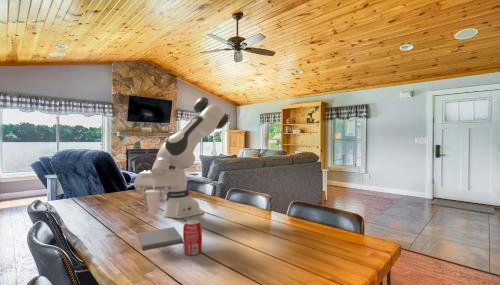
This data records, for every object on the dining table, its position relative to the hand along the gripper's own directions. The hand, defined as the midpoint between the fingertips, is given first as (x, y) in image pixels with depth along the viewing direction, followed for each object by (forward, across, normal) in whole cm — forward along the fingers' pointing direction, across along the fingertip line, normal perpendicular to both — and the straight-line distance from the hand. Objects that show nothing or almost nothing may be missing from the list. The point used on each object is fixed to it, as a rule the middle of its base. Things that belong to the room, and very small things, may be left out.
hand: (153, 197), depth 109 cm
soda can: (+20, +20, +7) cm, 29 cm away
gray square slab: (+11, +1, +16) cm, 19 cm away
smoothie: (+5, 0, +5) cm, 7 cm away
